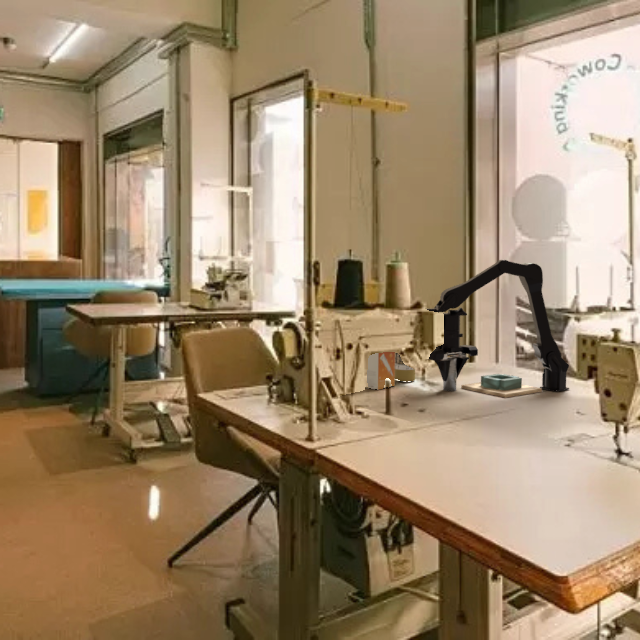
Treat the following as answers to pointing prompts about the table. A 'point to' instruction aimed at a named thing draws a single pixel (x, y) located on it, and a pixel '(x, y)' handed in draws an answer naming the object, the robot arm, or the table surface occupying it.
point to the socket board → (501, 392)
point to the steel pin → (451, 375)
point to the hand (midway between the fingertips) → (449, 380)
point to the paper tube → (403, 370)
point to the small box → (380, 369)
